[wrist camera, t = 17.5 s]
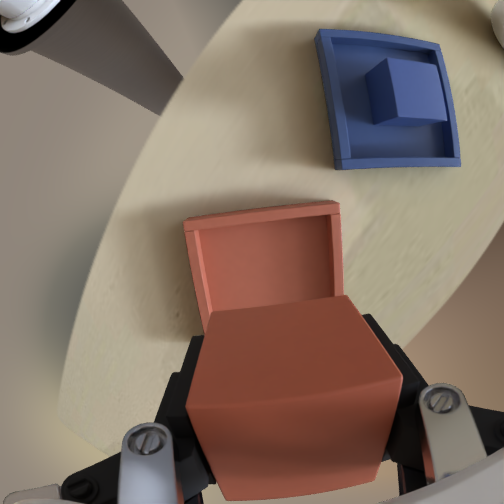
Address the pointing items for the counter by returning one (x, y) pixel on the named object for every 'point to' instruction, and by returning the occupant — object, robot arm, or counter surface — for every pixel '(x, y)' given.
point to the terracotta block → (292, 399)
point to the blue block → (405, 93)
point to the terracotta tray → (265, 256)
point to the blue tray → (359, 109)
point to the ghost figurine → (498, 21)
